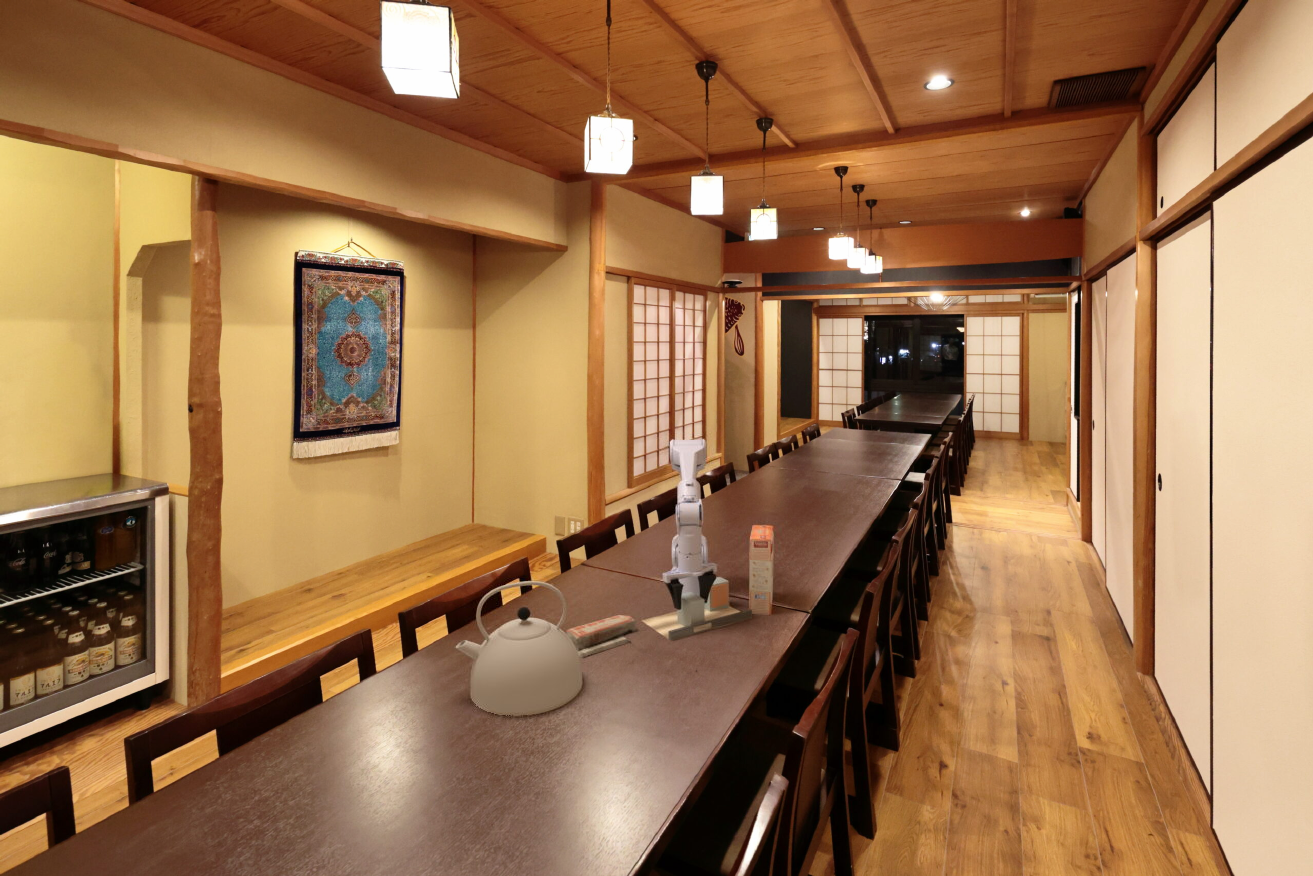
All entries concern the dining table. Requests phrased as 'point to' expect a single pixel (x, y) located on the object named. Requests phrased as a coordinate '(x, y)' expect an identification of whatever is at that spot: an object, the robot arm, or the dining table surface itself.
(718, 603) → the faced carton
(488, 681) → the kettle
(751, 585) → the cracker box
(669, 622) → the shelf board
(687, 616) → the turn carton
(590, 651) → the packaged product
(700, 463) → the robot arm
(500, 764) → the dining table surface
